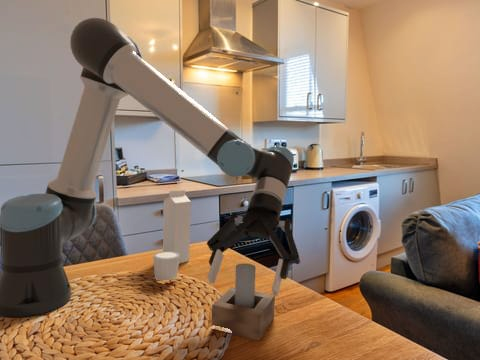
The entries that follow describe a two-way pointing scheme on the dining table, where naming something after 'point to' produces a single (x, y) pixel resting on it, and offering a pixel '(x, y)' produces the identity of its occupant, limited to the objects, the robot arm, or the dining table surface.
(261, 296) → the socket
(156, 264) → the grey and white cylinder
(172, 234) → the milk
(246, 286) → the grey cylinder
